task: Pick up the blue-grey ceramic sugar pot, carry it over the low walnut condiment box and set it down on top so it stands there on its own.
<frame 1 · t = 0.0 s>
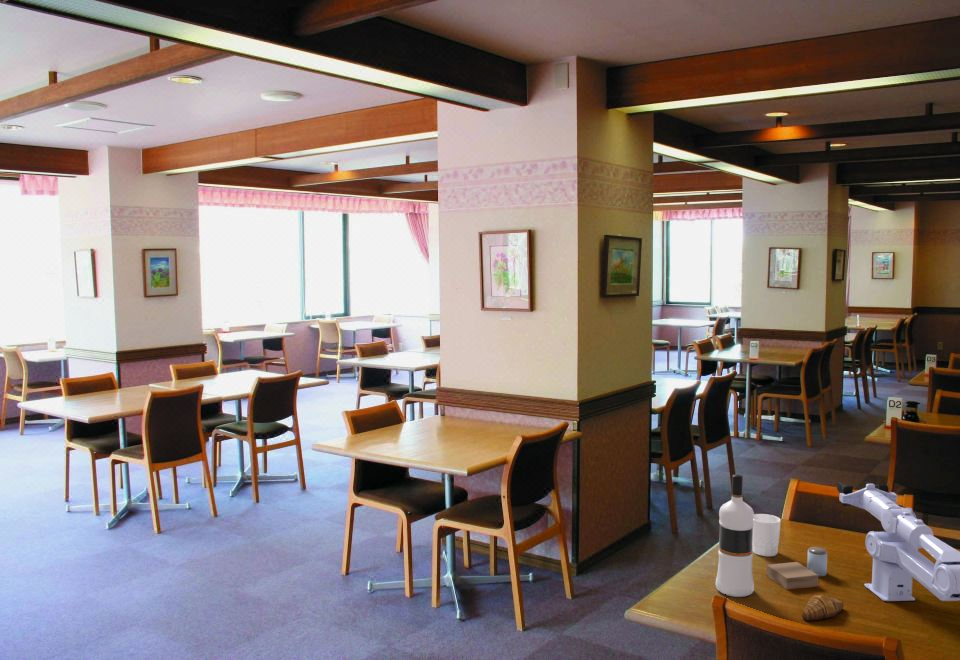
hand: (852, 485, 216), 22 cm above the table, tool horizontal, fingers open, 7 cm apart
white cup: (764, 553, 227), on the table
croissant: (822, 616, 188), on the table
vodka: (734, 591, 201), on the table
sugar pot: (816, 572, 212), on the table
walnut box: (791, 580, 207), on the table
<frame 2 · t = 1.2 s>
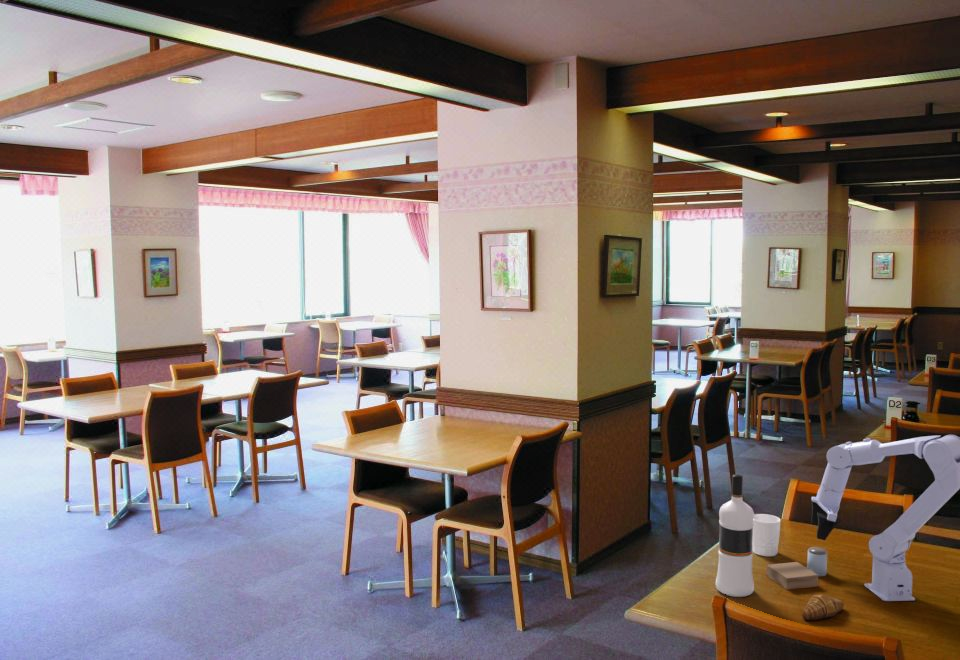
hand: (818, 531, 213), 10 cm above the table, tool pointing down, fingers open, 7 cm apart
nothing on the table moved.
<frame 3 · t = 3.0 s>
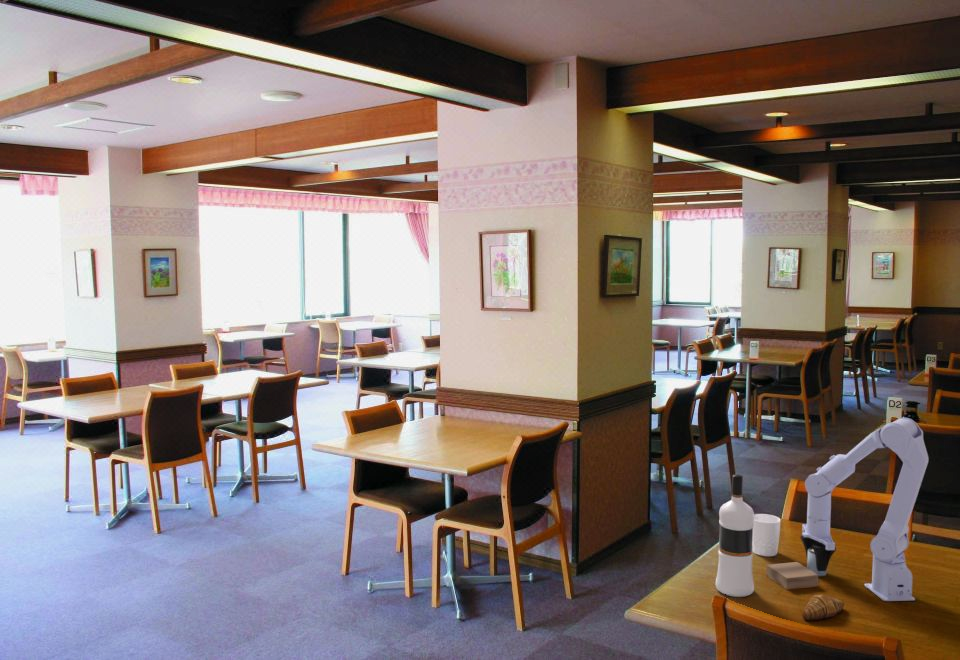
hand: (816, 566, 212), 2 cm above the table, tool pointing down, fingers closed on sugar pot, 5 cm apart
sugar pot: (816, 572, 212), on the table, touching gripper
everything else where it was.
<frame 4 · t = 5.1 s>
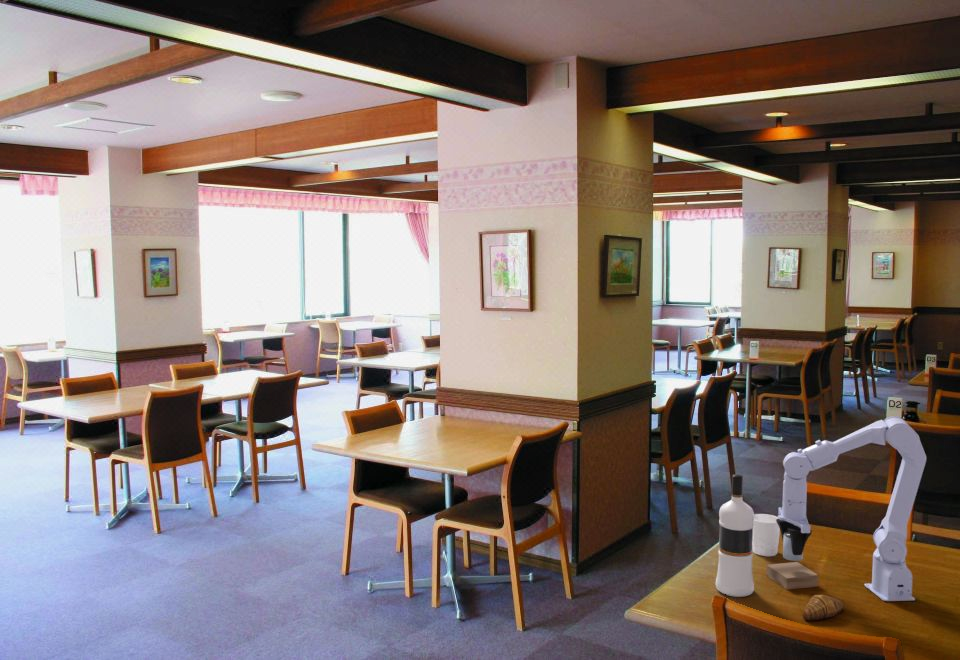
hand: (792, 550, 206), 8 cm above the table, tool pointing down, fingers closed on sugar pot, 5 cm apart
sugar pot: (792, 557, 206), point 6 cm above the table, touching gripper
everything else where it was.
when the fingers open (5 cm above the table, at t = 6.1 s): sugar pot stays where it is, resting on walnut box.
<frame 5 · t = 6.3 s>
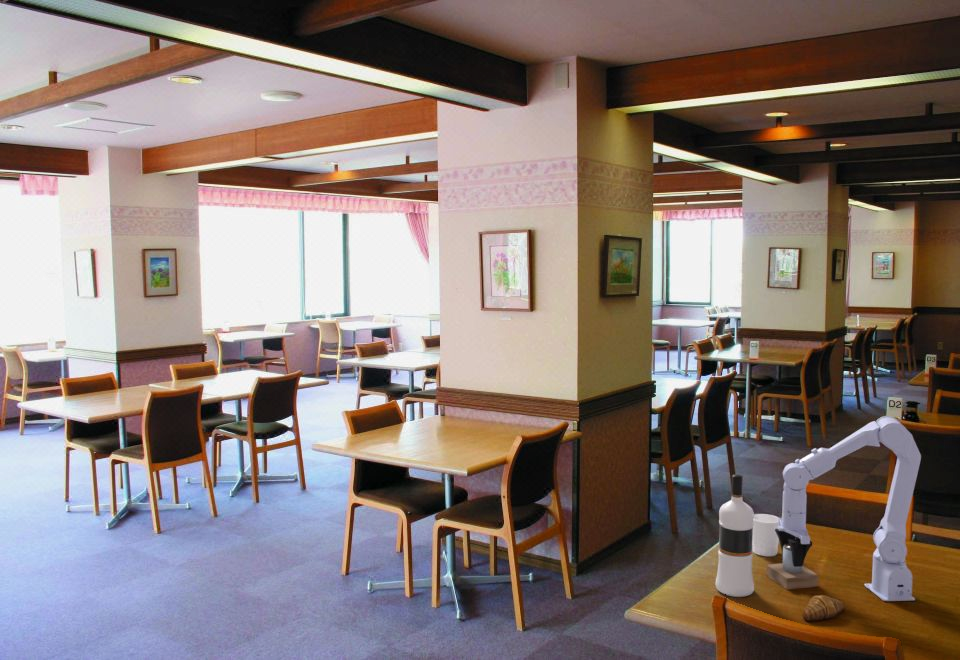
hand: (792, 561, 206), 5 cm above the table, tool pointing down, fingers open, 6 cm apart
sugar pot: (792, 569, 206), point 3 cm above the table, touching walnut box
everything else where it was.
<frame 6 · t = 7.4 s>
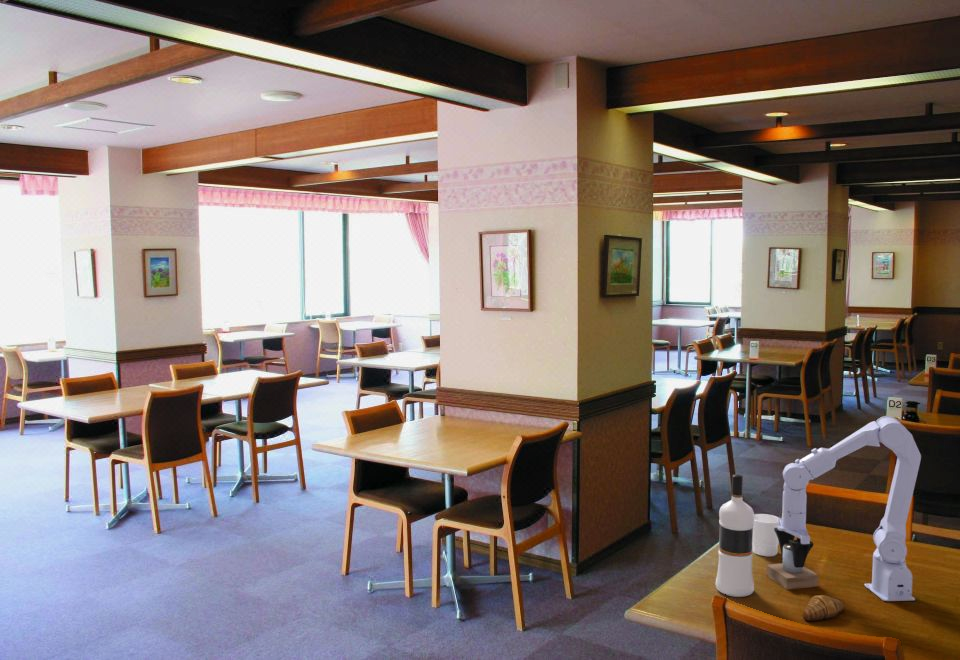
hand: (792, 561, 206), 5 cm above the table, tool pointing down, fingers open, 7 cm apart
nothing on the table moved.
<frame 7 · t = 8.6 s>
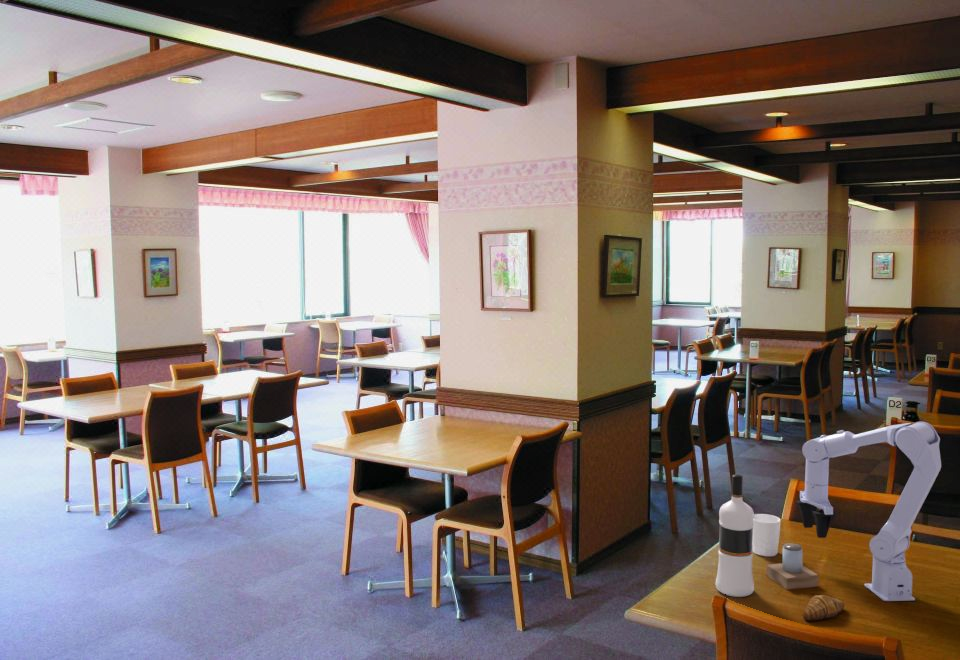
hand: (814, 532, 213), 10 cm above the table, tool pointing down, fingers open, 7 cm apart
nothing on the table moved.
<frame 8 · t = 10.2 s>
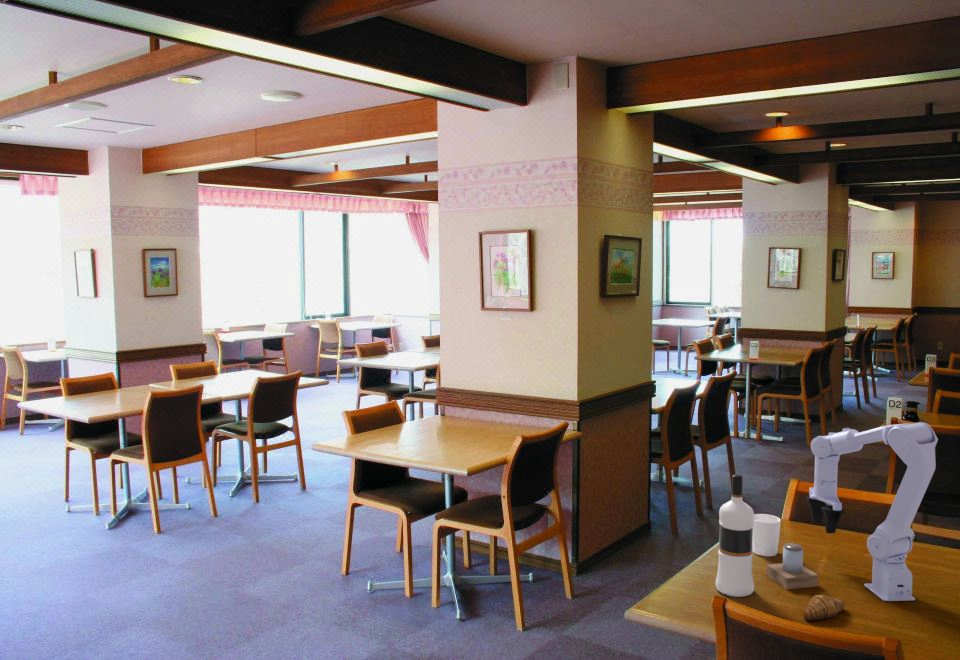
hand: (823, 528, 216), 10 cm above the table, tool pointing down, fingers open, 7 cm apart
nothing on the table moved.
at the end: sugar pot 0.1 cm off-centre on the walnut box, point 3.1 cm above the walnut box's base; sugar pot tilted 1°; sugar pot touching walnut box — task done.
